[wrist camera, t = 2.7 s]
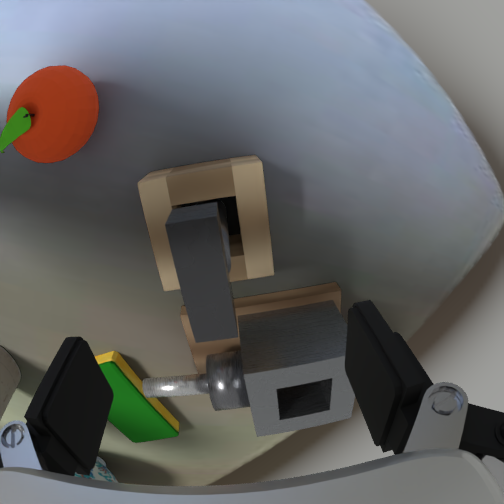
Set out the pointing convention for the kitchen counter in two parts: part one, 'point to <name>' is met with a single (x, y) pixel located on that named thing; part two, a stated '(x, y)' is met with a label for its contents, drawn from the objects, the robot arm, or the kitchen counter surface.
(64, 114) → the clementine
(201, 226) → the chuck key
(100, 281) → the kitchen counter surface
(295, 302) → the board
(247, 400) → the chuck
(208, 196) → the wooden square frame
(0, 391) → the thermos bottle
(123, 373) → the dish sponge
